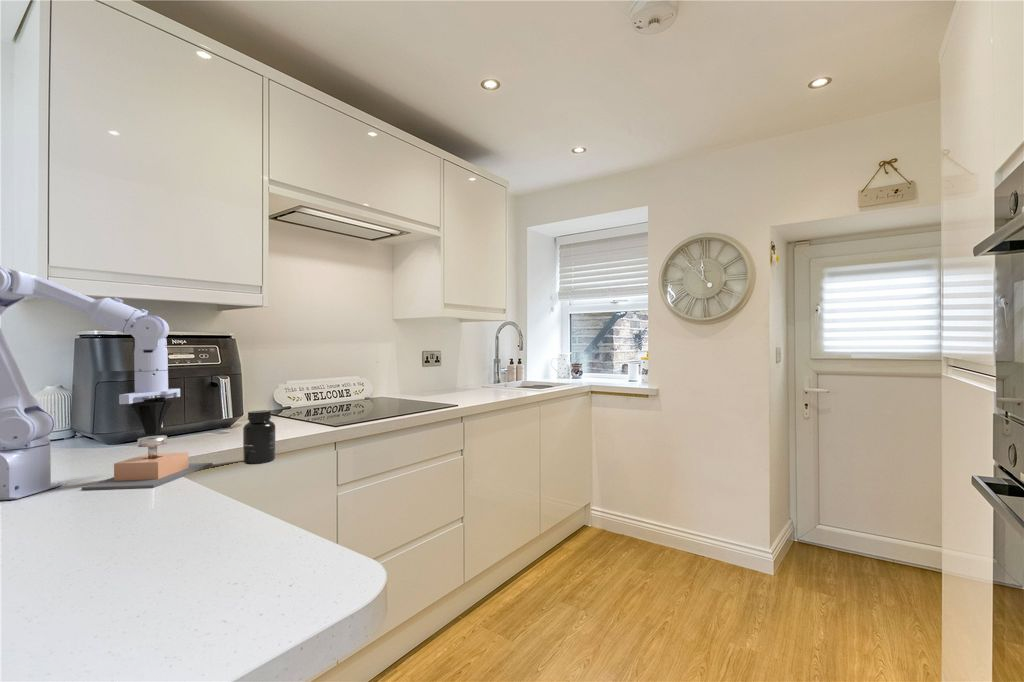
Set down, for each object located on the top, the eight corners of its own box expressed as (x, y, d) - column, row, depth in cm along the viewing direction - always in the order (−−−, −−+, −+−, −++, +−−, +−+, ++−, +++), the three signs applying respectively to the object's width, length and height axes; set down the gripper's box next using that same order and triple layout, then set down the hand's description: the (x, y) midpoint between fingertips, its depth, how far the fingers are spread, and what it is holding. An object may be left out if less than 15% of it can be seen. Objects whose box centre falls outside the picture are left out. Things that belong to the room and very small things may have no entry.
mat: (153, 487, 90) (153, 485, 90) (81, 490, 90) (81, 487, 90) (212, 464, 108) (212, 462, 108) (152, 466, 108) (152, 464, 108)
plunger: (155, 461, 97) (155, 439, 97) (131, 462, 97) (131, 440, 97) (172, 456, 102) (172, 435, 102) (150, 457, 102) (149, 435, 102)
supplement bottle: (239, 466, 106) (238, 414, 106) (247, 459, 113) (247, 410, 113) (272, 463, 108) (271, 412, 108) (278, 457, 115) (277, 408, 115)
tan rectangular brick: (158, 479, 95) (158, 462, 95) (114, 480, 95) (113, 463, 95) (188, 468, 104) (188, 452, 104) (148, 469, 104) (148, 453, 104)
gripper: (143, 371, 93) (144, 439, 92) (193, 369, 107) (194, 427, 107) (108, 373, 92) (109, 441, 92) (162, 370, 107) (163, 428, 107)
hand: (152, 434), depth 99 cm, fingers closed
